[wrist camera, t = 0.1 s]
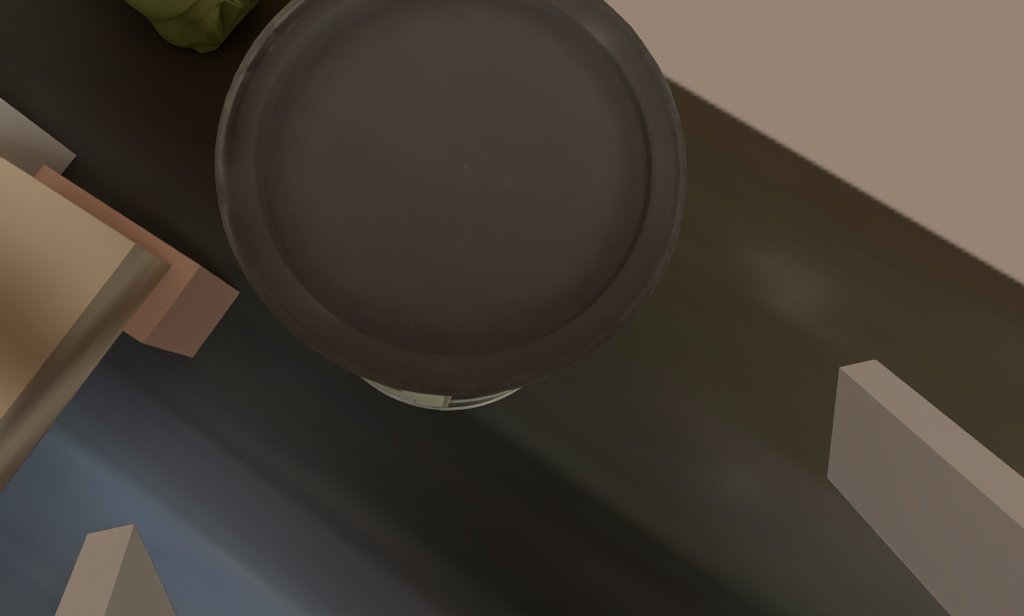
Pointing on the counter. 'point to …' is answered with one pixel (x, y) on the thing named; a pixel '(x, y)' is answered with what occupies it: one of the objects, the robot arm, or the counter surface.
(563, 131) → the coffee can
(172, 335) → the plain brown rectangular block
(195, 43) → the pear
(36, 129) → the end caps
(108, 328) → the birch slat
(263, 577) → the counter surface
